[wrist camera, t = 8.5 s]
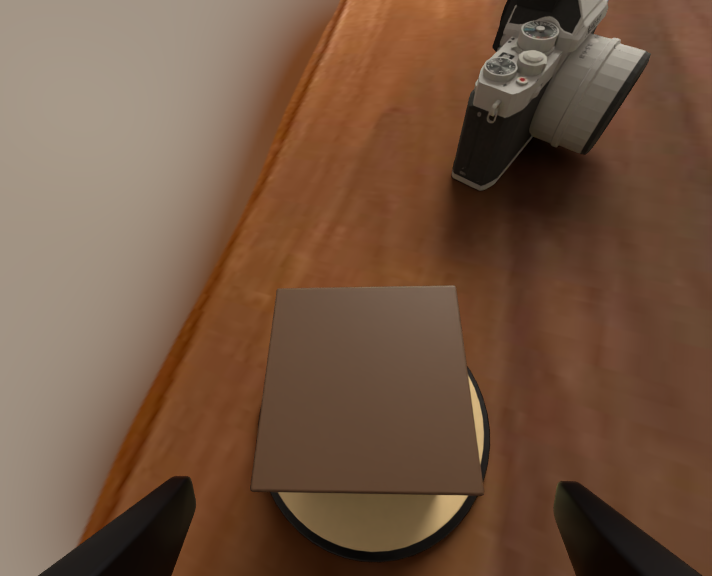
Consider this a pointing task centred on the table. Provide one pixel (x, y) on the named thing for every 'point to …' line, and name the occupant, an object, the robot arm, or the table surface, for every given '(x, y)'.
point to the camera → (544, 86)
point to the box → (369, 414)
